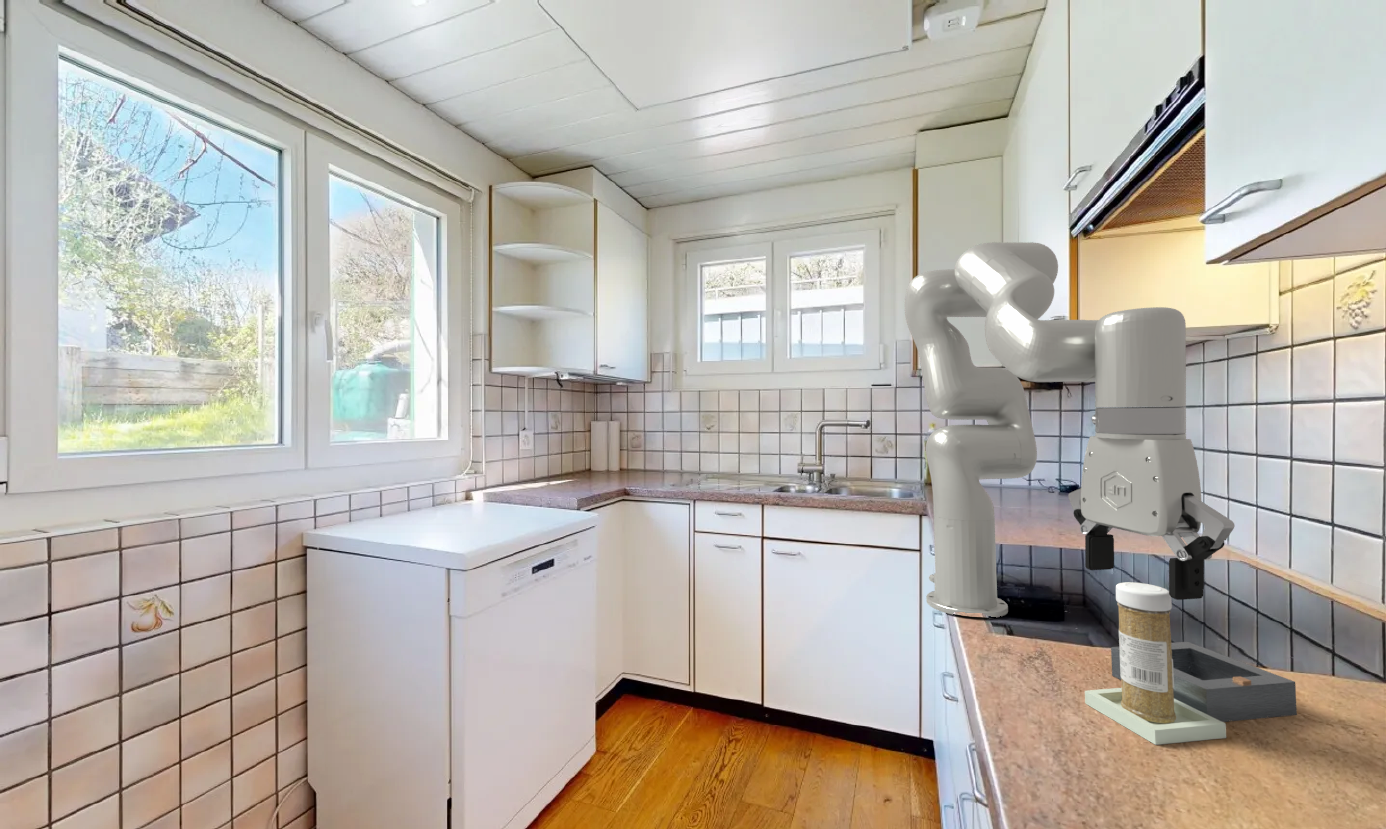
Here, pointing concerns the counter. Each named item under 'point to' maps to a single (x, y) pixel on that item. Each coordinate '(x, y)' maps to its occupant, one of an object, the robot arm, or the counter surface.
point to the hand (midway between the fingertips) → (1139, 582)
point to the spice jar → (1146, 651)
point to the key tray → (1183, 729)
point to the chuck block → (1224, 685)
